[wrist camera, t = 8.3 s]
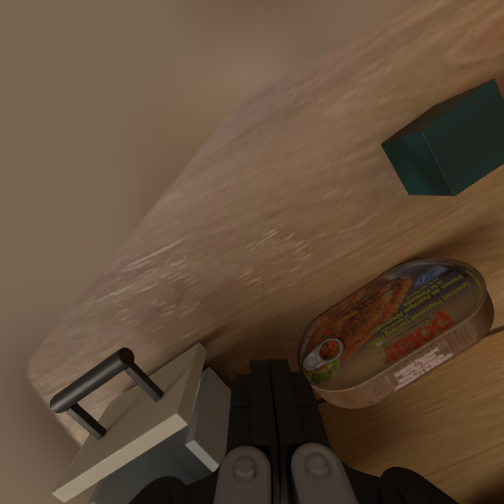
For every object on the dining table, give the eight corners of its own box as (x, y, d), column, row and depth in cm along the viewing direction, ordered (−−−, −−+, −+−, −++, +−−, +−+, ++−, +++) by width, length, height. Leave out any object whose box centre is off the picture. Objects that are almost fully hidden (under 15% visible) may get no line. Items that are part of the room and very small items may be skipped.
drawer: (73, 368, 24) (-5, 449, 17) (164, 303, 23) (124, 359, 15) (195, 483, 28) (176, 592, 20) (280, 433, 27) (294, 530, 19)
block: (380, 144, 21) (420, 130, 16) (435, 104, 20) (494, 78, 15) (408, 194, 22) (454, 196, 17) (461, 158, 21) (525, 149, 16)
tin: (424, 246, 23) (522, 278, 15) (439, 272, 24) (541, 317, 15) (287, 335, 25) (306, 407, 17) (304, 358, 26) (332, 437, 17)
